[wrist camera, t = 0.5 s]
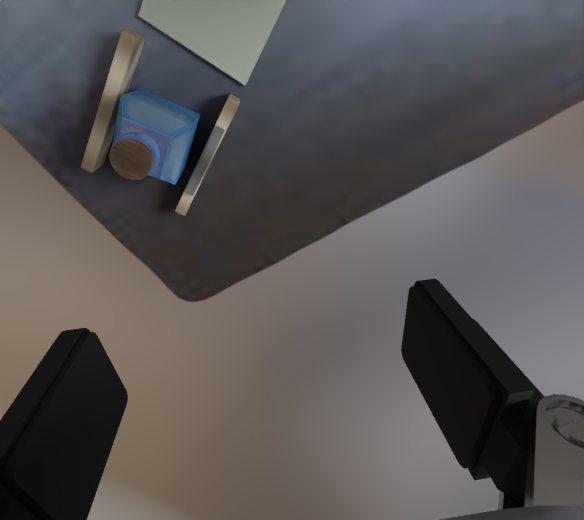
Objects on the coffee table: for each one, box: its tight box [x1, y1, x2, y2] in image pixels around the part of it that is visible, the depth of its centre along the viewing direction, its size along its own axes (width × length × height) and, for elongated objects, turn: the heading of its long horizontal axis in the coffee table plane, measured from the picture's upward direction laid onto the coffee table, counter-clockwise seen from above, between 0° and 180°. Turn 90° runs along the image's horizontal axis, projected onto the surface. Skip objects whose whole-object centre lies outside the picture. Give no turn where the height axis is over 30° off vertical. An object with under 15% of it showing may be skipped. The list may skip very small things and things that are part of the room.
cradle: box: [81, 30, 240, 216], centre depth 35 cm, size 14×11×4 cm
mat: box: [138, 0, 286, 85], centre depth 31 cm, size 9×11×1 cm
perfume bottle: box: [110, 89, 200, 185], centre depth 31 cm, size 6×6×12 cm
